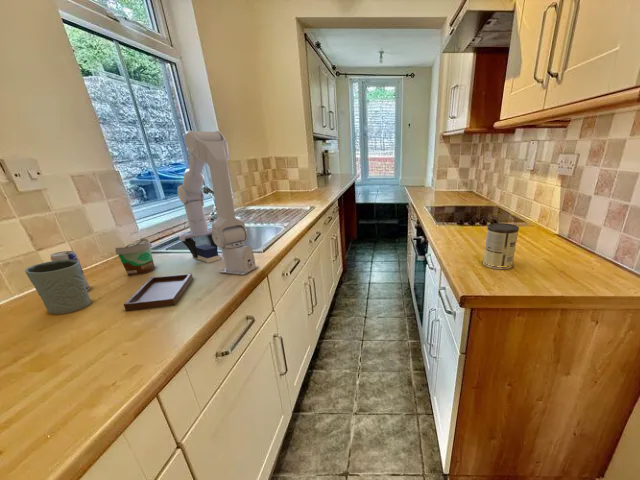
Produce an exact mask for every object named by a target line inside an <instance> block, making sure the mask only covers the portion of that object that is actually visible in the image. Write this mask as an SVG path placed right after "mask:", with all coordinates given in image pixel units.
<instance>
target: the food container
mask: <svg viewBox="0 0 640 480" xmlns="http://www.w3.org/2000/svg"><path fill="white" fill-rule="evenodd" d="M152 247H153V245H152V243H151V241H150V240H149V239H147V238H141V237H140V240H139V241H138V242H133V243H130V244H128V245H126V246H124V247H115V255H118V257H119V259H120V262H121V264H122V267H124V269H125V272H126V275H127V276H138V275H143V274H147V273H149V272H151V271H153V270H155V267H156V266H155V264H154V258H153V254H152V249H151V248H152Z"/></svg>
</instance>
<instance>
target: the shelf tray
mask: <svg viewBox="0 0 640 480" xmlns="http://www.w3.org/2000/svg"><path fill="white" fill-rule="evenodd" d="M193 280H194V276H193V274H192V272H190V273H182V274H181V273H180V274H171V275H160V276H151V277H150V278H149V279H148V280H146V281H145V283H144V284H142V286H140V288H139V289H138V290H136V291H135V292H134V293H133V294H132V295H131V296H130V297H129V298H128V299H127V300H126V301H125V302H124V303H123V307H124V309H125V311H126V312H128V311H137V310H147V309H155V308H164V307H172V306H173V307H174V306H176V304H178V302H179V300H180V298H181V297H182V296H183V294H184V293H185V291H186V290H187V288H188V287H189V286H190V285H191V283H192V282H193Z"/></svg>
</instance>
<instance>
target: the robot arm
mask: <svg viewBox="0 0 640 480" xmlns="http://www.w3.org/2000/svg"><path fill="white" fill-rule="evenodd" d="M184 142H185V146H186V148H187V151H188V152H189V168H187V169H185V171H184V175H183V180H182V184H180V185H179V186H177V196H178V199H179V200H180V202H181V203H183V206H184V211H185V215H186V217H187V222H188V226H189V229H190V231H189V232H186V233H182V234H179V235H178V239H179V241H180V242H182V243H183V244H184V245H185V247H186V248H187V249H188V251H189V252H190V254H191V255H192V258H193V257H194V258H193V259H196V258H198V255H197V251H196V246H197V245H196V241H195V240H193V239H197V238H201V237H206V236H207V238H208V240H209V243H210V246H214V247H217V249H218V248H220V250H221V253H222V258H223V263H224V269H222V270H219V271H220V272H219V273H220V274H221V273H222V274H229V275H230V274H232V275H240V276H241V275H242V276H244V275H246V274H248V273H250V272H252V271H253V270H255V269H256V268H258V265H256V259H255V254H254V250H253V248H252V247H250V246H247V245H246V244H247V241H248V239H249V238H248V237H249V233H248V230H247V227H246V223H245V221H244V220H243V219H241V218H239V217H237V216H236V214H235V213H236V212H235V206H234V199H233V193H232V185H231V179H230V172H229V165H228V161H230V154H229V147H228V140H227V139H226V137H225V136H224V134H223V133H222V132H221V131H218V130H216V131H202V130H201V131H198V130H187V131H186V132H185V134H184ZM205 164H207V166H208V168H209V173H210V180H211V185H212V191H213V197H214V202H215V208H216V213H217V218H216V219H214V220H213V222H212V223H211V228H208V223H207V219H206V214H205V210H204V206H205V203H204V198H205V197H204V193H203V191H202V190H203V185H204V180H205V175H204V174H203V170H204V167H205Z"/></svg>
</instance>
